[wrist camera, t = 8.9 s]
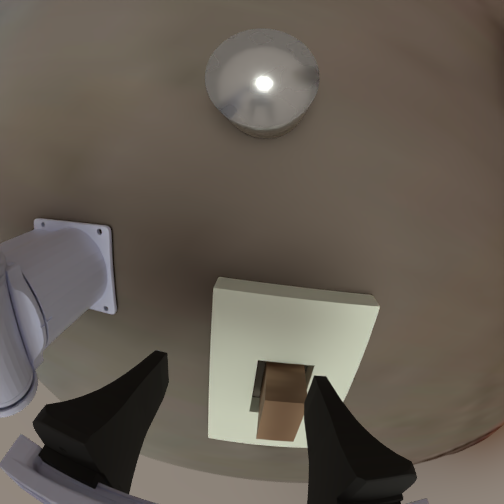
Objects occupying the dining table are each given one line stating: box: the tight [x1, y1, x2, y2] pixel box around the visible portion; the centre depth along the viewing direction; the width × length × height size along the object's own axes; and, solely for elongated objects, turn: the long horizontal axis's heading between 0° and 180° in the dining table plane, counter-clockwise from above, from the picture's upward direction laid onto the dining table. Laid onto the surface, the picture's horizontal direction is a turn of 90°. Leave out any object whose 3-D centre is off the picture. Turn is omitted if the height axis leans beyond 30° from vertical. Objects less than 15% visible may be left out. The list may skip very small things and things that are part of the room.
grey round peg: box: [205, 29, 319, 139], centre depth 14 cm, size 6×6×6 cm
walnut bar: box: [256, 361, 307, 442], centre depth 21 cm, size 3×5×6 cm, turn 174°
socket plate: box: [208, 277, 380, 448], centre depth 23 cm, size 12×18×2 cm, turn 174°
